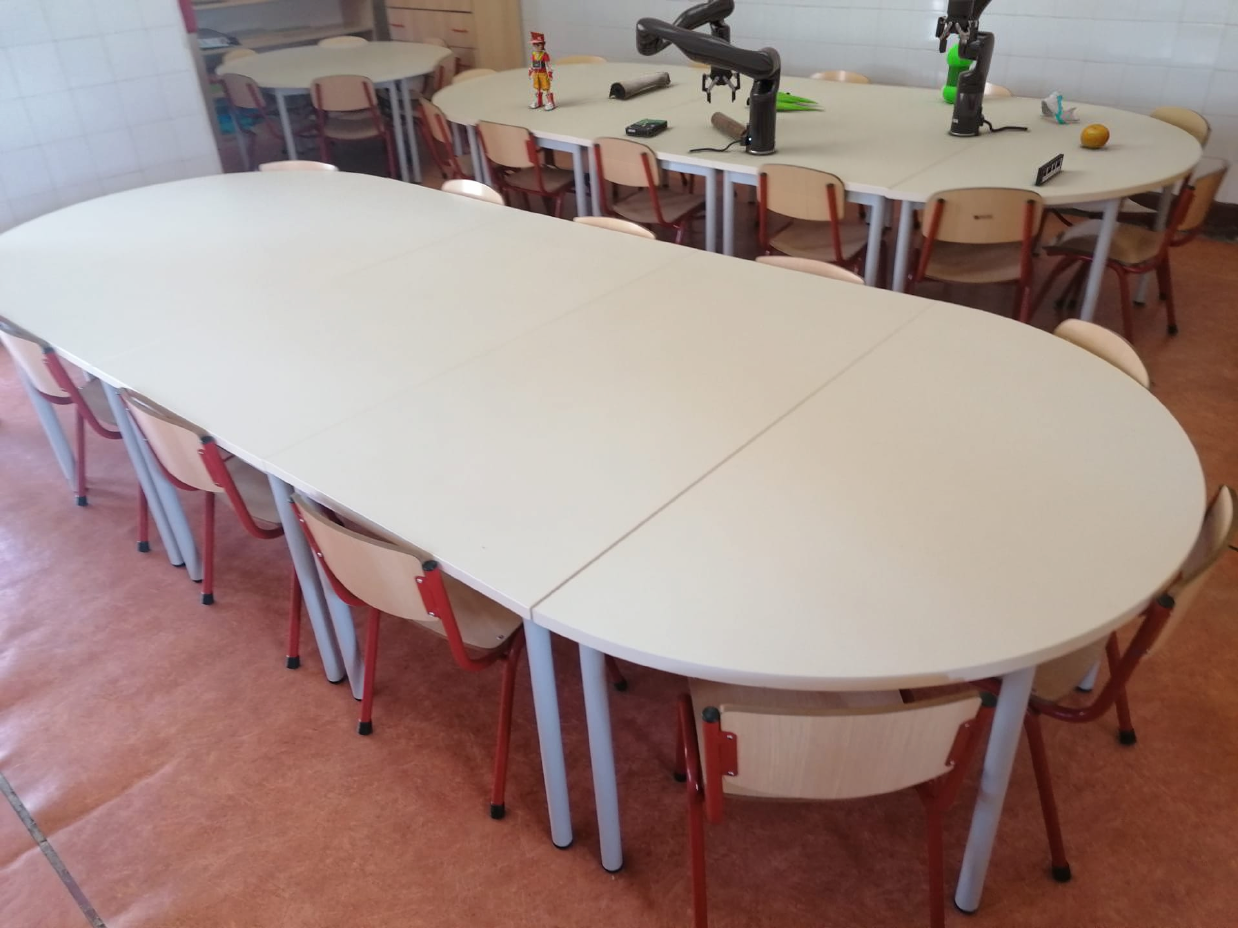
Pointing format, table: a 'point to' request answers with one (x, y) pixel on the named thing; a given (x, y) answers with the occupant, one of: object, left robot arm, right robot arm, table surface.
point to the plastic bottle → (954, 73)
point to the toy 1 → (541, 71)
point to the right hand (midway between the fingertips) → (953, 54)
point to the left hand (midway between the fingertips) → (721, 102)
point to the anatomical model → (1057, 108)
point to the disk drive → (646, 127)
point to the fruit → (1095, 136)
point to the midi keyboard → (1049, 169)
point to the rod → (728, 125)
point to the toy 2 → (789, 102)
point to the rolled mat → (638, 84)
